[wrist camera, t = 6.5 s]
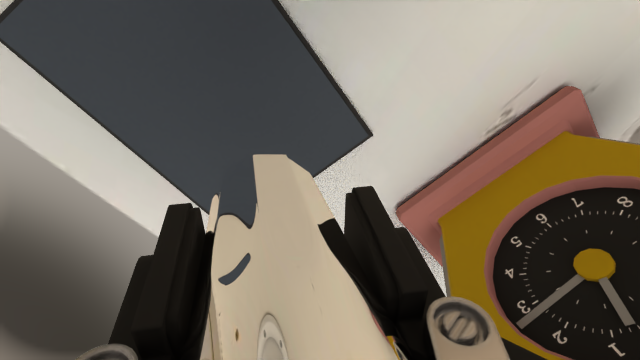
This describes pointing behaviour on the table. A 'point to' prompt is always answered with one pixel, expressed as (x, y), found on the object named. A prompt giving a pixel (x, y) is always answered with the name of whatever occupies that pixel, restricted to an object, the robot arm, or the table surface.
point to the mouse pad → (190, 82)
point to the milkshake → (282, 275)
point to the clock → (543, 233)
